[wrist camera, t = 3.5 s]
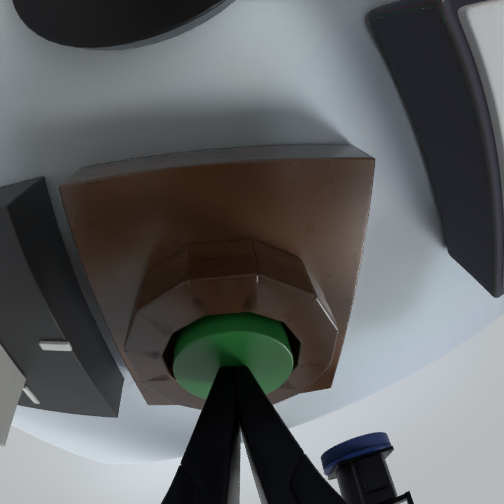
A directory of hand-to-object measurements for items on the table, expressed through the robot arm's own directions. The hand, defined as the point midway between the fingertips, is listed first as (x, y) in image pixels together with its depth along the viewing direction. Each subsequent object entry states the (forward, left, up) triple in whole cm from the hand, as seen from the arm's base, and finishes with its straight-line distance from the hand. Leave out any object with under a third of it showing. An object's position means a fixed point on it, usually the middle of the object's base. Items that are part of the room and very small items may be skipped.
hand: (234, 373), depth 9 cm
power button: (0, 0, -2) cm, 2 cm away
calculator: (+9, -14, -4) cm, 17 cm away
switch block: (0, 0, -4) cm, 4 cm away
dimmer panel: (0, +11, -4) cm, 11 cm away
